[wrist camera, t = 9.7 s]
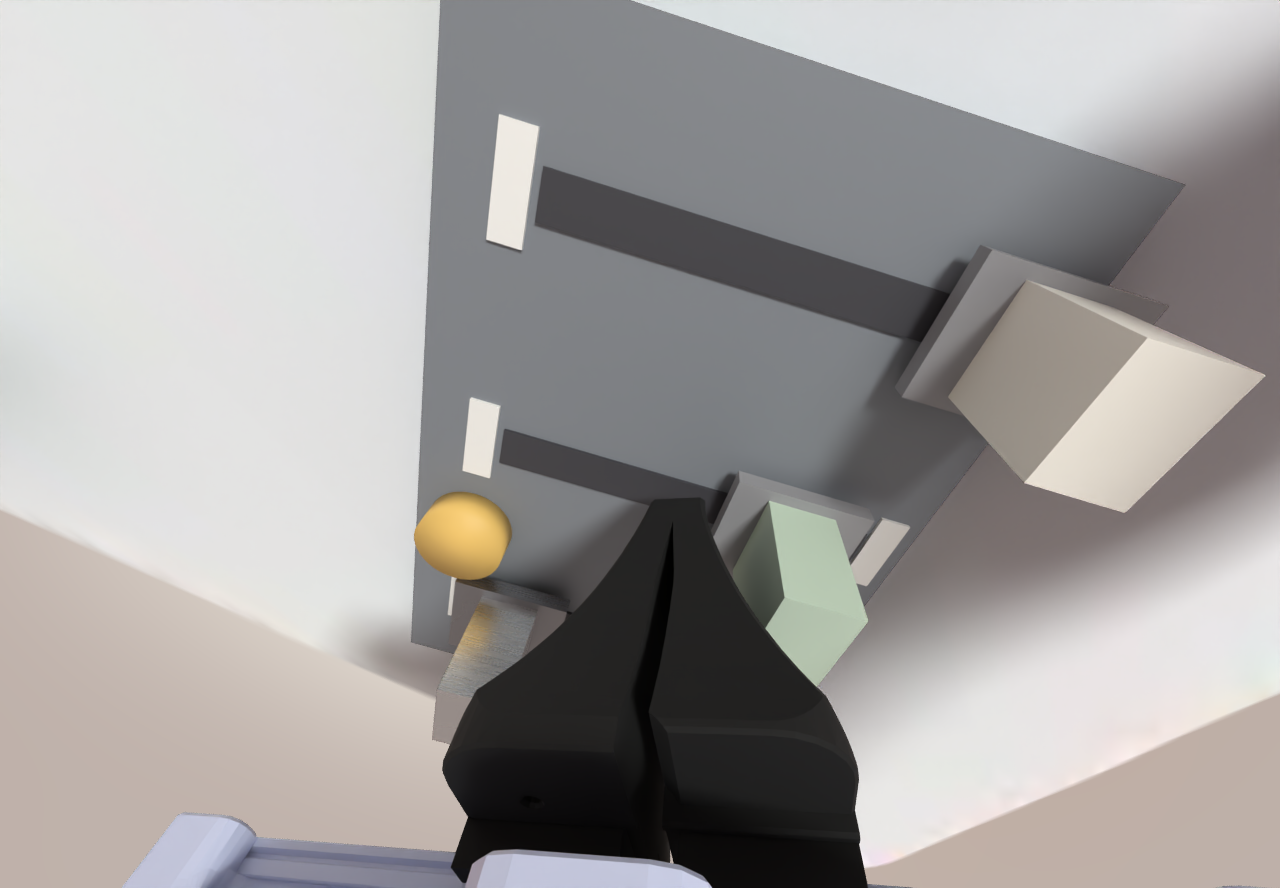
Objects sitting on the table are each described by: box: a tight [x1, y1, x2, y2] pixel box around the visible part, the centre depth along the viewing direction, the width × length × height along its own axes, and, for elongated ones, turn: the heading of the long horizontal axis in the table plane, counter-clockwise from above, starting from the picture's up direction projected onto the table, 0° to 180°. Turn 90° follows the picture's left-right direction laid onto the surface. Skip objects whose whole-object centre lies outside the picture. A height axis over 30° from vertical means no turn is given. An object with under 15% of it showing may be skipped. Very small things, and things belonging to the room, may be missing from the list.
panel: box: [411, 0, 1185, 654], centre depth 15 cm, size 14×20×2 cm
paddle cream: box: [895, 245, 1266, 513], centre depth 9 cm, size 4×3×4 cm
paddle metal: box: [432, 577, 570, 744], centre depth 16 cm, size 4×3×4 cm
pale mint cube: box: [711, 471, 874, 687], centre depth 13 cm, size 4×3×4 cm
